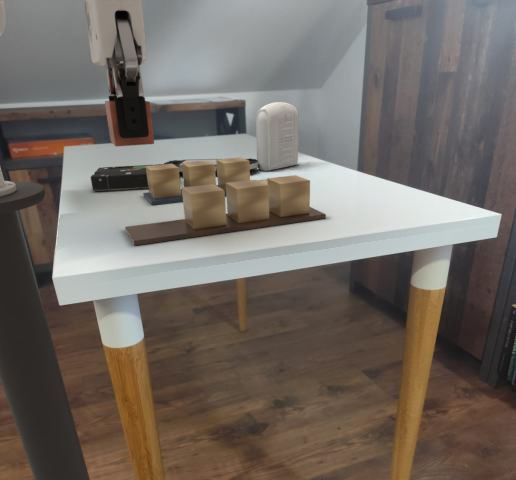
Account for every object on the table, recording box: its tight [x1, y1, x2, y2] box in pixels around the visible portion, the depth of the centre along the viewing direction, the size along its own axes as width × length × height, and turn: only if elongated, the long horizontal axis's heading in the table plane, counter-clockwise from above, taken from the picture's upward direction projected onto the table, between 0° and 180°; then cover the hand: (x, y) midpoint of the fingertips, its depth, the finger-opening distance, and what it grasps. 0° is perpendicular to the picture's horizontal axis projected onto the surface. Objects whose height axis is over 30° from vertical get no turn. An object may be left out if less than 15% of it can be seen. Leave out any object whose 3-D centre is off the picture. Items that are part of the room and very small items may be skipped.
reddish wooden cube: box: [104, 100, 155, 147], centre depth 57 cm, size 4×4×4 cm
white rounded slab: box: [255, 101, 299, 172], centre depth 100 cm, size 10×4×12 cm, turn 138°
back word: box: [142, 156, 267, 206], centre depth 83 cm, size 24×7×5 cm, turn 112°
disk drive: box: [90, 163, 175, 192], centre depth 92 cm, size 10×3×15 cm
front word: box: [124, 174, 327, 247], centre depth 65 cm, size 26×7×5 cm, turn 112°
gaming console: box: [163, 158, 259, 177], centre depth 100 cm, size 19×9×2 cm, turn 85°
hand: (130, 133), depth 57 cm, fingers closed on reddish wooden cube, 4 cm apart
